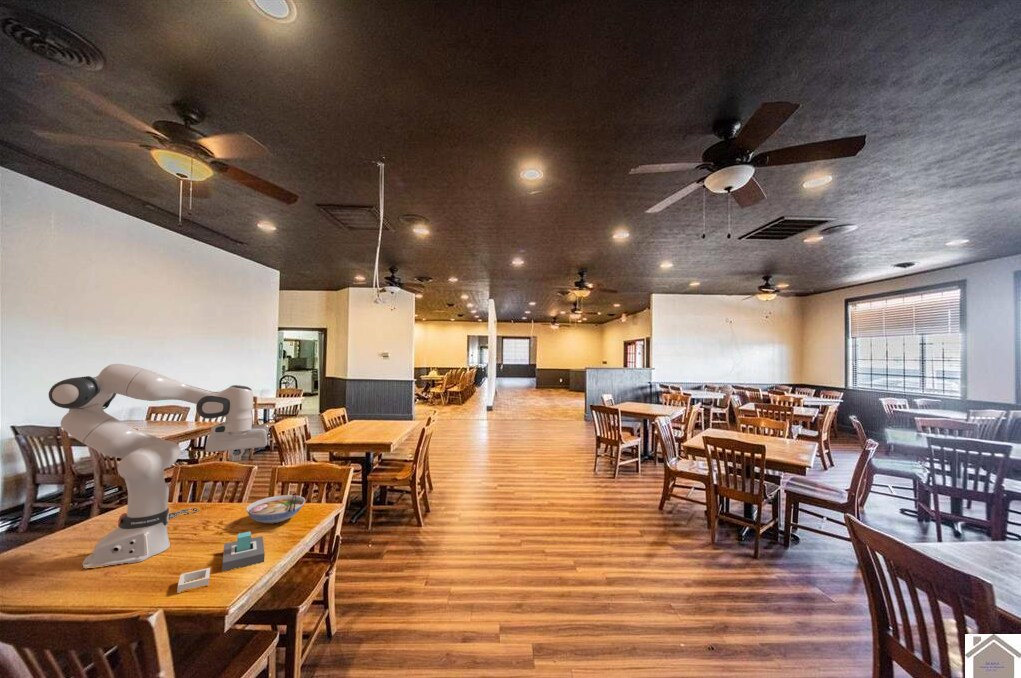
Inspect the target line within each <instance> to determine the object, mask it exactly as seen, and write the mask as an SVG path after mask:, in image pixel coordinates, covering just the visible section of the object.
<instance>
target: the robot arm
mask: <svg viewBox="0 0 1021 678" xmlns="http://www.w3.org/2000/svg"><path fill="white" fill-rule="evenodd" d="M117 395H120V396H121V395H122V396H124V397H127V398H131V399H135V400H140V401H146V402H147V401H148V402H155V401H156V402H158V401H171V400H172V401H183V402H187V403H191V404H194V405H196V407H195V408H196V410H195V411H196V413H197V414H198V415H199V416H200V417H201V418H203V419H209V420H213V419H218V418H221V417H225V421H224V422H221V423H218V424H214V425H212V426H211V428H210V433H209V435H208V436H207V439H206V443H205V447H204V448H205V451H206V452H207V453H214V452H223V451H228V452H229V455H230V457H231V461H232V462H237V461H239V462H240V461H242V456H243V455H244V453H245V451H246V449H257V448H265V447H266V446H267V445H268V436H267V435H268V434H269V430H270V428H269V425H266V424H263V423H262V424H253V414H252V411H253V408H254V391H253V389H252V388H251V387H249V386H246V385H240V384H239V385H237V384H236V385H231V386H229V387H227V388H225V389H223V390H220V391H211V390H206V389H203V388H199V387H197V386H192V385H189V384H185V383H184V382H183V383H182V382H180V381H178V380H176V379H172V378H170V377H167V376H165V375H162V374H161V373H157V372H155V371H152V370H149V369H145V368H142V367H140V366H136V365H135V366H134V365H129V364H123V363H122V364H121V363H113V364H109V365H107V366H106V367H104V368H103V369H102V370H101V371H100V372H99V374H98V375H96V376H91V375H90V376H89V375H87V376H79V377H69V378H66V379H63V380H61V381H58V382H56V383H54V385H52V387H50V389H49V392H48V399H49V401H50V402H51V404H53V405H54V406H55V407H58V408H61V409H67V410H68V412H67V413H66V414H65V415H64V416H63V417H62V418H61V420H60V427H61V428H62V429H63V430H64V431H65V433H67V434H69V435H70V436H71V437H73V438H74V439H75V440H77V441H78V442H80V443H82V444H83V445H86V446H87V447H90V448H91V449H93V450H95V451H96V452H99V453H100V454H101V455H105V456H106V457H107V456H108V457H114V458H119V459H121V460H120V461H119V463H118V466H117V472H118V474H119V476H120V477H121V478H122V479H124V481H125V485H126V489H127V507H126V508H127V510H126V512H123V513H121V515H120V516H119V518H118V522H117V527H116V528H115V529H113V530H112V531H110V532H109V533H108V534H107V535H105V536H104V537H102V538H101V539H100V540H99V541H98V542H97V544H96V545H95V547H94V549H93V551H92V553H90V554H89V555H88V556H86V557H85V559H84V560H83V561H82V564H81V566H82V565H83V567H86V568H87V567H96V566H105V565H115V564H121V565H124V564H123V563H128V564H133V563H134V564H135V563H140V562H143V561H146V560H147V559H148V558H150V557H153V556H155V555H159V554H160V553H162V552H164V551H166V550H167V549H168V548H170V546H171V543H170V539H169V538H170V537H169V534H168V523H169V520H170V519H169V514H170V511H169V510H170V508H169V494H170V493H169V492H170V488H169V486H168V484H167V483H166V481H165V476H164V471H165V469H168V468H169V467H172V465H173V464H175V463H176V462H177V460H178V459H179V458H180V456H181V453H182V450H181V446H180V445H179V444H178V443H177V442H175V441H172V440H165V439H162V438H159V437H157V436H154V435H151V434H149V433H147V432H143V431H140V430H138V429H136V428H134V427H131V426H130V425H129V424H127V423H125V422H123V421H121V420H119V419H118V418H116V417H114V416H112V415H110V414H109V413H107V412H106V411H105V409H107V408H109V406H110V404H111V403H112V401H113V400H114V399H115V397H116V396H117ZM235 450H240V453H239V455H234V452H235ZM85 564H87V565H85ZM115 566H116V565H115Z"/></svg>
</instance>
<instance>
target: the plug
mask: <svg viewBox="0 0 1021 678" xmlns="http://www.w3.org/2000/svg"><path fill="white" fill-rule="evenodd" d="M236 537H237V539H236V541H237V552H241V551H245V550H250V544H251V538H252V531H246V532H240V533H237V536H236Z"/></svg>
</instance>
